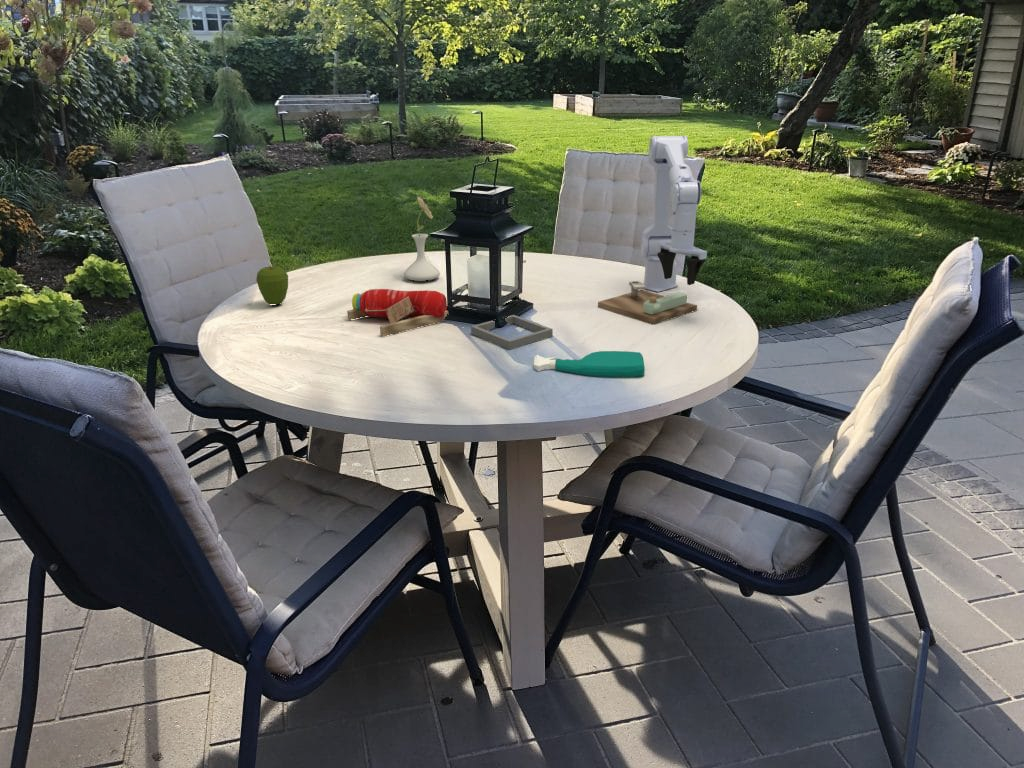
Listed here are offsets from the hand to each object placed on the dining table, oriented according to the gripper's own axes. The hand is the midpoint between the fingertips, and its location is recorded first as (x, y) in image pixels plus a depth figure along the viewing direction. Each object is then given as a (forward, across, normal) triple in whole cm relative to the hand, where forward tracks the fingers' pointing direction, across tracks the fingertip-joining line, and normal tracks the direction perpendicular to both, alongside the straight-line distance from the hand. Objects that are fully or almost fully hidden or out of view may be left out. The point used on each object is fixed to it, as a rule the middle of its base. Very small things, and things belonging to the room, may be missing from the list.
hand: (679, 281), depth 204 cm
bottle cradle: (+10, -46, -59) cm, 75 cm away
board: (+10, -9, -1) cm, 13 cm away
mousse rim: (+10, -17, -43) cm, 47 cm away
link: (+8, -3, -1) cm, 8 cm away
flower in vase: (+10, -76, -31) cm, 83 cm away
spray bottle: (+10, +11, -44) cm, 46 cm away
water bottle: (+10, -46, -59) cm, 75 cm away
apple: (+10, -80, -78) cm, 112 cm away
